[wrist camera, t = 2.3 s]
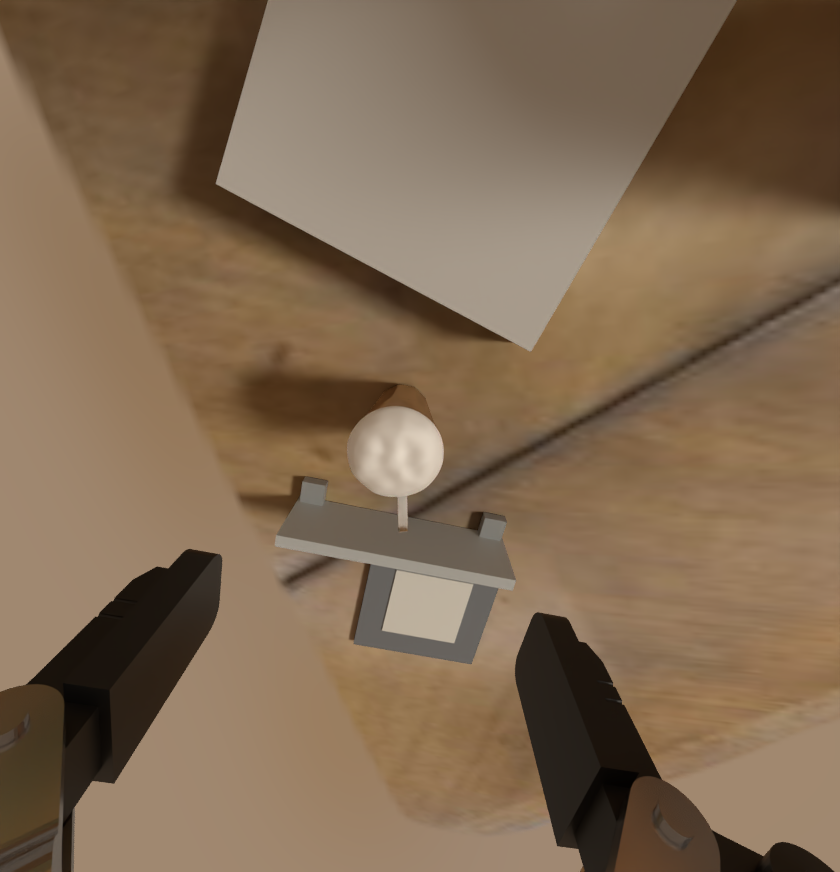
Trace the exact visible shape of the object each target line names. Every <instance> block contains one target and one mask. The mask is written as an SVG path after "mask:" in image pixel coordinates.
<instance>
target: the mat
mask: <svg viewBox="0 0 840 872" xmlns="http://www.w3.org/2000/svg"><path fill="white" fill-rule="evenodd" d="M497 591H498V588H495V587H490V586H485V585H479V584H474V583H469V582H463V581H458V580H453V579H447V578H442V577H437V576H431V575H426V574H421V573H415V572H410V571H404V570H399V569H394V568H388V567H383V566H378V565H372V564H371V566H370V570H369V575H368V579H367V584H366V588H365V593H364V598H363V602H362V607H361V611H360V616H359V621H358V625H357V630H356V634H355V639H354V644H356V645H362V646H368V647H374V648H380V649H385V650H391V651H397V652H403V653H409V654H414V655H420V656H426V657H432V658H438V659H443V660H449V661H455V662H461V663H467V664H472V661H473V658H474V656H475V653H476V650H477V647H478V644H479V641H480V639H481V636H482V633H483V630H484V627H485V625H486V622H487V619H488V616H489V613H490V610H491V608H492V605H493V602H494V599H495V596H496V594H497Z"/></svg>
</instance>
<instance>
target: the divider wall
mask: <svg viewBox="0 0 840 872" xmlns="http://www.w3.org/2000/svg"><path fill="white" fill-rule="evenodd" d="M327 485H328V481H326V480H321V479H316V478H311V477H305V478H304V480H303V481H302V488H301V496H300V497H299V498H298V500H297V502H296V503H295V505H294V507H293V508H292V510H291V512H290V513H289V515H288V516H287V518H286V520H285V521H284V523H283V525H282V526H281V528H280V530H279V531H278V533H277V535H276V541H275V546H276V547H282V548H287V549H292V550H298V551H303V552H308V553H314V554H319V555H324V556H330V557H335V558H340V559H346V560H351V561H356V562H362V563H367V564H372V565H378V566H383V567H388V568H394V569H399V570H404V571H410V572H415V573H421V574H426V575H431V576H437V577H442V578H447V579H453V580H458V581H463V582H469V583H474V584H479V585H485V586H490V587H495V588H501V589H506V590H511V591H513V588H514V585H515V582H516V578H515V575H514V572H513V569H512V566H511V563H510V560H509V557H508V554H507V551H506V548H505V545H504V542H503V539H502V535H503V532H504V529H505V526H506V523H507V521H506V518H505V516H501V515H496V514H491V513H486V512H483V515H482V519H481V522H480V525H479V528H478V531H477V530H472V529H467V528H462V527H457V526H452V525H447V524H442V523H437V522H432V521H426V520H421V519H416V518H411V517H408V532H401V533H399V532H398V515H396V514H391V513H386V512H381V511H376V510H371V509H366V508H360V507H355V506H350V505H345V504H340V503H335V502H330V501H325V497H326V491H327Z"/></svg>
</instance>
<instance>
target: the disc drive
mask: <svg viewBox="0 0 840 872" xmlns="http://www.w3.org/2000/svg"><path fill="white" fill-rule="evenodd" d="M736 1H737V0H268V2H267V6H266V9H265V13H264V16H263V20H262V23H261V27H260V30H259V34H258V37H257V41H256V44H255V48H254V51H253V55H252V58H251V62H250V65H249V69H248V72H247V76H246V79H245V83H244V86H243V90H242V93H241V97H240V100H239V104H238V107H237V111H236V114H235V118H234V121H233V125H232V128H231V132H230V135H229V139H228V142H227V146H226V149H225V153H224V156H223V160H222V163H221V167H220V170H219V174H218V177H217V181H216V184H217V185H219V186H221V187H222V188H224V189H226V190H228V191H230V192H232V193H233V194H235V195H237V196H239V197H241V198H243V199H245V200H246V201H248V202H250V203H252V204H254V205H256V206H258V207H259V208H261V209H263V210H265V211H267V212H269V213H271V214H273V215H274V216H276V217H278V218H280V219H282V220H284V221H286V222H288V223H289V224H291V225H293V226H295V227H297V228H299V229H301V230H303V231H304V232H306V233H308V234H310V235H312V236H314V237H316V238H318V239H320V240H321V241H323V242H325V243H327V244H329V245H331V246H333V247H335V248H336V249H338V250H340V251H342V252H344V253H346V254H348V255H350V256H351V257H353V258H355V259H357V260H359V261H361V262H363V263H365V264H366V265H368V266H370V267H372V268H374V269H376V270H378V271H380V272H381V273H383V274H385V275H387V276H389V277H391V278H393V279H395V280H396V281H398V282H400V283H402V284H404V285H406V286H408V287H410V288H412V289H413V290H415V291H417V292H419V293H421V294H423V295H425V296H427V297H428V298H430V299H432V300H434V301H436V302H438V303H440V304H442V305H443V306H445V307H447V308H449V309H451V310H453V311H455V312H457V313H458V314H460V315H462V316H464V317H466V318H468V319H470V320H472V321H473V322H475V323H477V324H479V325H481V326H483V327H485V328H487V329H488V330H490V331H492V332H494V333H496V334H498V335H500V336H502V337H503V338H505V339H507V340H509V341H511V342H513V343H515V344H517V345H519V346H521V347H523V348H524V349H526V350H528V351H530V352H531V351H532V349H533V347H534V345H535V344H536V342H537V340H538V339H539V337H540V335H541V334H542V332H543V330H544V328H545V327H546V325H547V323H548V322H549V320H550V318H551V316H552V315H553V313H554V311H555V310H556V308H557V306H558V305H559V303H560V301H561V299H562V298H563V296H564V294H565V293H566V291H567V289H568V287H569V286H570V284H571V282H572V281H573V279H574V277H575V276H576V274H577V272H578V270H579V269H580V267H581V265H582V264H583V262H584V260H585V259H586V257H587V255H588V253H589V252H590V250H591V248H592V247H593V245H594V243H595V241H596V240H597V238H598V236H599V235H600V233H601V231H602V230H603V228H604V226H605V224H606V223H607V221H608V219H609V218H610V216H611V214H612V213H613V211H614V209H615V207H616V206H617V204H618V202H619V201H620V199H621V197H622V195H623V194H624V192H625V190H626V189H627V187H628V185H629V184H630V182H631V180H632V178H633V177H634V175H635V173H636V172H637V170H638V168H639V166H640V165H641V163H642V161H643V160H644V158H645V156H646V155H647V153H648V151H649V149H650V148H651V146H652V144H653V143H654V141H655V139H656V138H657V136H658V134H659V132H660V131H661V129H662V127H663V126H664V124H665V122H666V120H667V119H668V117H669V115H670V114H671V112H672V110H673V109H674V107H675V105H676V103H677V102H678V100H679V98H680V97H681V95H682V93H683V92H684V90H685V88H686V86H687V85H688V83H689V81H690V80H691V78H692V76H693V74H694V73H695V71H696V69H697V68H698V66H699V64H700V63H701V61H702V59H703V57H704V56H705V54H706V52H707V51H708V49H709V47H710V45H711V44H712V42H713V40H714V39H715V37H716V35H717V34H718V32H719V30H720V28H721V27H722V25H723V23H724V22H725V20H726V18H727V17H728V15H729V13H730V11H731V10H732V8H733V6H734V5H735V3H736Z"/></svg>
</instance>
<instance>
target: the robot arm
mask: <svg viewBox="0 0 840 872" xmlns="http://www.w3.org/2000/svg"><path fill="white" fill-rule="evenodd" d="M221 571H222V557H221V555H220V554H215V553H209V552H203V551H198V550H192V549H188V550H186V551H184V552H183V553H182V554H181V556H180V557H179V558H178V559H177V560H176V561H175V562H174V563H173V564H172V565H171V566H170V567H169V568H168V569H167V568H162V567H155V568H154V569H152V570H150V571H148V572H146V573H144V574H143V575H141V576H139V577H137V578H135V579H133V580H132V581H131V582H130V583H129V584H128V585H127V586H126V587H125V588H124V589H123V590H122V591H121V592H120V593H119V594H118V595H117V596H116V597H115V599H114V601H111V602H110V603H109V604H108V605H107V606H106V607H105V608H104V609H103V610H102V611H101V612H100V613H99V616H98V617H95V618H94V619H93V620H92V621H91V622H90V623H89V624H88V625H87V626H86V627H85V628H84V629H82V631H80V633H78V634H77V636H75V637H74V639H72V640H71V641H70V642H69V643H68V644H67V646H65V647H64V648H63V649H62V650H61V651H60V652H59V653H58V654H57V655H56V656H55V657H54V658H53V659H52V660H51V661H50V662H49V663H48V664H47V665H46V666H45V667H44V668H43V669H42V670H41V671H40V672H39V673H38V674H37V675H36V676H35V677H34V678H33V679H32V680H31V681H29V682H28V684H26V685H23V686H18V687H14V688H10V689H7V690H4V691H1V692H0V872H74V823H75V822H74V821H75V809H74V807H75V806H76V804H77V803H78V801H79V800H80V798H81V797H82V795H83V794H84V792H85V791H86V789H87V788H88V786H89V785H90V783H91V782H92V781H99V782H106V783H115V781H116V780H117V778H118V776H119V775H120V773H121V772H122V770H123V768H124V767H125V765H126V764H127V762H128V760H129V759H130V757H131V756H132V754H133V752H134V751H135V749H136V748H137V746H138V744H139V743H140V741H141V740H142V738H143V736H144V735H145V733H146V732H147V730H148V729H149V727H150V725H151V724H152V722H153V721H154V719H155V717H156V716H157V714H158V713H159V711H160V709H161V708H162V706H163V704H164V703H165V701H166V700H167V698H168V697H169V695H170V693H171V692H172V690H173V689H174V687H175V686H176V684H177V682H178V681H179V679H180V678H181V676H182V674H183V673H184V671H185V670H186V668H187V666H188V665H189V663H190V661H191V660H192V658H193V657H194V655H195V653H196V652H197V650H198V649H199V647H200V646H201V644H202V643H203V641H204V639H205V638H206V636H207V635H208V633H209V631H210V629H211V628H212V625H213V623H214V621H215V618H216V615H217V612H218V608H219V600H220V586H221ZM515 678H516V684H517V688H518V692H519V696H520V700H521V704H522V708H523V712H524V716H525V720H526V724H527V728H528V732H529V736H530V740H531V744H532V748H533V752H534V756H535V760H536V764H537V768H538V771H539V775H540V779H541V783H542V787H543V791H544V795H545V799H546V803H547V807H548V811H549V815H550V819H551V823H552V827H553V831H554V835H555V839H556V843H557V846H560V847H568V848H576V849H579V853H580V856H581V860H582V863H583V867H582V869H581V871H580V872H834V871H833V870H832V869H831V868H830V867H828V866H827V865H826V864H825V863H823V862H822V861H821V860H820V859H818V858H817V857H815V856H814V855H813V854H811V853H810V852H808V851H806V850H805V849H803V848H801V847H798V846H796V845H793V844H790V843H786V842H780V843H776V844H775V845H773V846H772V847H771V849H770V850H769V851H768V852H767V853H766V854H765V856H762V855H760V854H757V853H756V852H754V851H751V850H750V849H748V848H746V847H744V846H742V845H740V844H738V843H736V842H734V841H732V840H730V839H727V838H726V837H724V836H722V835H720V834H718V833H716V832H714V831H713V830H711V828H710V826H709V824H708V823H707V821H706V820H705V818H704V817H703V815H702V814H701V813H700V811H699V810H698V809H697V808H696V806H695V805H694V804H693V803H692V802H691V801H690V800H689V799H688V798H687V797H686V796H685V795H684V794H683V793H681V792H680V791H679V790H678V789H677V788H675V787H674V786H672V785H671V784H669V783H667V782H665V781H663V780H662V779H661V777H660V775H659V773H658V771H657V769H656V767H655V765H654V763H653V761H652V759H651V757H650V755H649V753H648V751H647V749H646V747H645V745H644V743H643V741H642V739H641V737H640V735H639V733H638V731H637V729H636V727H635V725H634V723H633V721H632V719H631V717H630V716H629V714H628V712H627V710H626V708H625V706H624V705H622V700H621V698H620V696H619V694H618V692H617V690H616V688H615V687H613V682H612V680H611V678H610V676H609V674H608V672H607V670H606V668H605V666H604V664H603V662H602V661H601V660H600V658H599V657H598V656H597V655H596V654H595V653H594V652H593V650H592V649H591V648H590V647H589V646H588V645H587V644H586V643H584V642H579V641H578V639H577V637H576V634H575V632H574V630H573V628H572V626H571V624H570V622H569V620H568V619H567V618H565V617H561V616H555V615H549V614H544V613H535V614H534V615H533V617H532V619H531V622H530V624H529V627H528V630H527V632H526V635H525V637H524V640H523V642H522V645H521V647H520V650H519V652H518V655H517V659H516V665H515Z"/></svg>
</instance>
